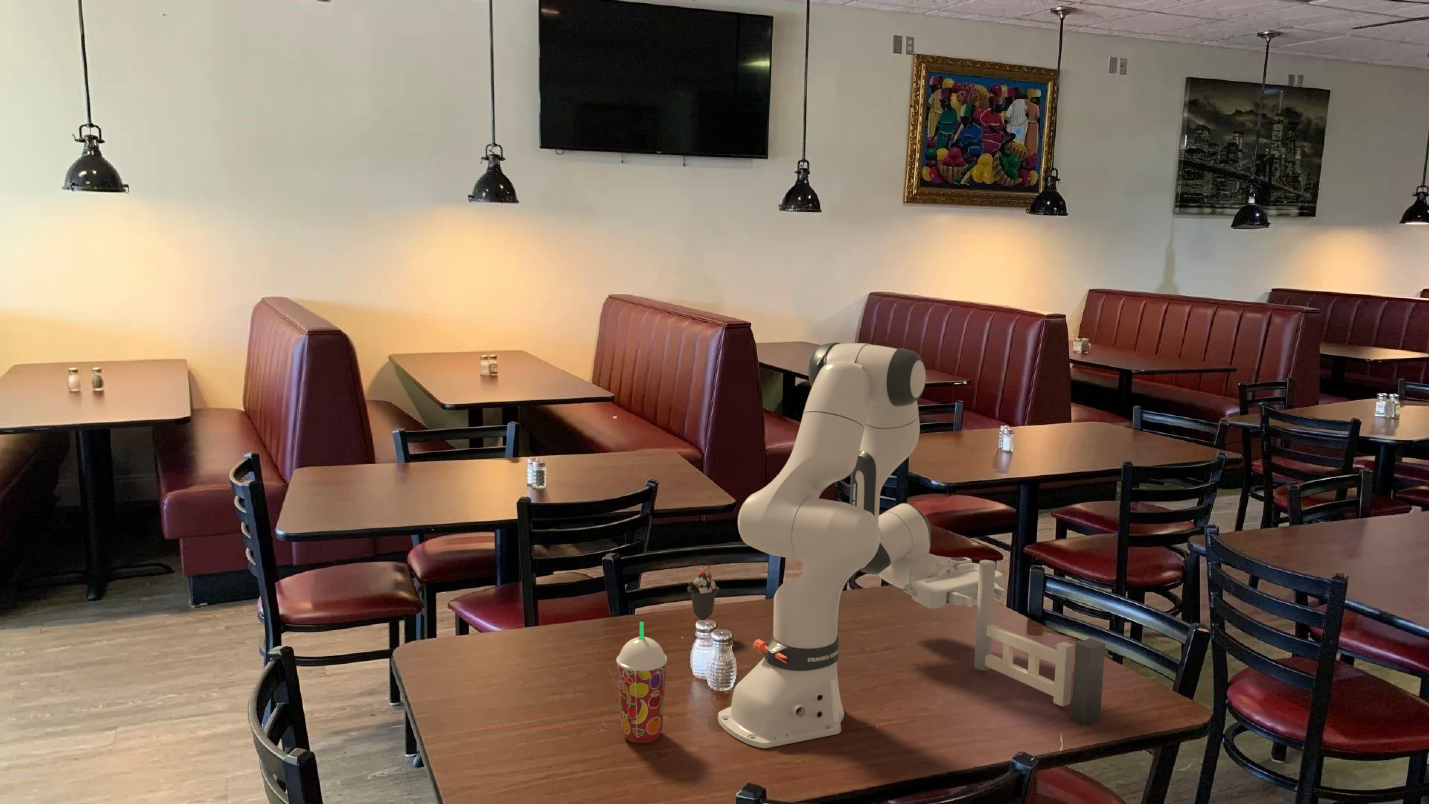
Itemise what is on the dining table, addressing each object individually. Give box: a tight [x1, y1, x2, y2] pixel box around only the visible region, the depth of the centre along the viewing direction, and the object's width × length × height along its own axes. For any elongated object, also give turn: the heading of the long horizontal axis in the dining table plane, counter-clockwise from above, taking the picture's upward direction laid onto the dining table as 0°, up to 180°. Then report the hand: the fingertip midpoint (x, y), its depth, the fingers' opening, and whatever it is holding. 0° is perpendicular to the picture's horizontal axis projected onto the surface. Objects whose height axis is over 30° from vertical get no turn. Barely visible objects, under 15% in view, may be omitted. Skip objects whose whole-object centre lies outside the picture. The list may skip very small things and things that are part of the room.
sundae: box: [686, 563, 720, 638], centre depth 218 cm, size 7×7×15 cm
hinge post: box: [1070, 637, 1106, 727], centre depth 181 cm, size 4×3×14 cm
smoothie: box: [615, 621, 668, 744], centre depth 173 cm, size 8×8×20 cm
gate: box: [973, 559, 1075, 707], centre depth 192 cm, size 21×3×21 cm, turn 34°
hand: (989, 599), depth 198 cm, fingers open, 7 cm apart
